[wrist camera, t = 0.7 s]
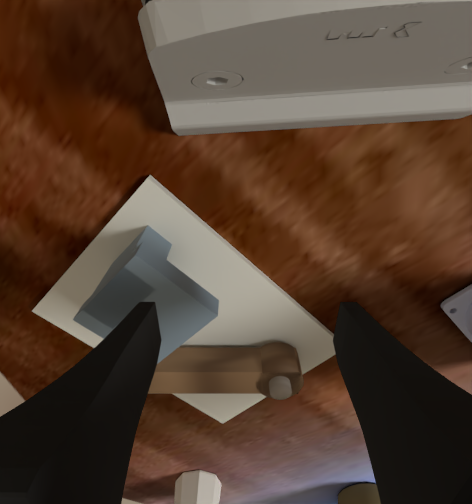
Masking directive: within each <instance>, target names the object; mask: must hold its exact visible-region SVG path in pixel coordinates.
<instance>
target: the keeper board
mask: <svg viewBox="0 0 472 504" xmlns="http://www.w3.org/2000/svg"><path fill="white" fill-rule="evenodd" d="M139 302H155V304H156V310H157V316H158V322H159V328H160V334H161V340H162V341H161V346H160V352H159V357H158V362H157V364H158V363H159V362H161V361H162V360H163V359H164V358H166V357H167V356H168V355H169V354H171V353H172V352H173V351H174V350H176V349H177V348H178V347H184V348H260V347H262V346H263V345H265V344H268V343H272V342H283V343H287V344H289V345H291V346H293V347H294V348H296V350H297V352H298V356H299V361H300V365H301V370H302V375H303V374H304V373H306V372H308V371H309V370H311V369H313V368H314V367H316V366H318V365H319V364H321V363H322V362H324V361H326V360H327V359H329V358H331V357H332V356H334V355H335V354H336V353H335V349H334V344H333V337H334V334H333V333H332V332H331V331H330V330H328V329H327V328H326V327H325V326H324V325H323V324H321V323H320V322H319V321H318V320H317V319H316V318H315V317H313V316H312V315H311V314H310V313H309V312H308V311H307V310H305V309H304V308H303V307H302V306H301V305H300V304H298V303H297V302H296V301H295V300H294V299H293V298H292V297H290V296H289V295H288V294H287V293H286V292H285V291H283V290H282V289H281V288H280V287H279V286H278V285H277V284H275V283H274V282H273V281H272V280H271V279H270V278H268V277H267V276H266V275H265V274H264V273H263V272H262V271H260V270H259V269H258V268H257V267H256V266H255V265H253V264H252V263H251V262H250V261H249V260H248V259H247V258H245V257H244V256H243V255H242V254H241V253H240V252H239V251H237V250H236V249H235V248H234V247H233V246H232V245H230V244H229V243H228V242H227V241H226V240H225V239H224V238H222V237H221V236H220V235H219V234H218V233H217V232H215V231H214V230H213V229H212V228H211V227H210V226H209V225H207V224H206V223H205V222H204V221H203V220H202V219H200V218H199V217H198V216H197V215H196V214H195V213H194V212H192V211H191V210H190V209H189V208H188V207H187V206H185V205H184V204H183V203H182V202H181V201H180V200H179V199H177V198H176V197H175V196H174V195H173V194H172V193H171V192H169V191H168V190H167V189H166V188H165V187H164V186H162V185H161V184H160V183H159V182H158V181H157V180H156V179H154V178H153V177H152V176H151V175H149V177H148V178H147V179H146V180H145V181H144V182H143V184H142V185H141V186H140V187H139V188H138V189H137V190H136V192H135V193H134V194H133V195H132V196H131V197H130V198H129V200H128V201H127V202H126V203H125V204H124V205H123V207H122V208H121V209H120V210H119V211H118V212H117V213H116V215H115V216H114V217H113V218H112V219H111V220H110V221H109V223H108V224H107V225H106V226H105V227H104V228H103V230H102V231H101V232H100V233H99V234H98V235H97V236H96V238H95V239H94V240H93V241H92V242H91V243H90V244H89V246H88V247H87V248H86V249H85V250H84V251H83V253H82V254H81V255H80V256H79V257H78V258H77V259H76V261H75V262H74V263H73V264H72V265H71V266H70V268H69V269H68V270H67V271H66V272H65V273H64V274H63V276H62V277H61V278H60V279H59V280H58V281H57V282H56V284H55V285H54V286H53V287H52V288H51V289H50V291H49V292H48V293H47V294H46V295H45V296H44V297H43V299H42V300H41V301H40V302H39V303H38V304H37V305H36V307H35V308H34V309H33V310H32V312H34V313H35V314H37V315H39V316H41V317H42V318H44V319H46V320H47V321H49V322H51V323H52V324H54V325H56V326H58V327H59V328H61V329H63V330H64V331H66V332H68V333H69V334H71V335H73V336H75V337H76V338H78V339H80V340H81V341H83V342H85V343H86V344H88V345H90V346H92V347H93V348H95V347H96V346H97V345H98V344H99V343H100V342H101V341H102V340H103V339H104V338H105V337H106V336H107V335H108V334H109V333H110V332H111V331H112V330H113V329H114V328H115V327H116V326H117V325H118V324H119V323H120V322H121V321H122V320H123V319H124V318H125V317H126V316H127V314H128V313H129V312H130V311H131V310H132V309H133V308H134V307H135V306H136V305H137V304H138V303H139ZM173 395H175V396H177V397H178V398H180V399H182V400H183V401H185V402H187V403H189V404H190V405H192V406H194V407H195V408H197V409H199V410H200V411H202V412H204V413H206V414H207V415H209V416H211V417H212V418H214V419H216V420H217V421H219V422H221V423H225V422H226V421H228V420H230V419H231V418H233V417H234V416H236V415H238V414H239V413H241V412H243V411H244V410H246V409H248V408H249V407H251V406H252V405H254V404H256V403H257V402H259V401H261V400H262V399H264V398H265V397H266V396H264V395H262V394H173Z"/></svg>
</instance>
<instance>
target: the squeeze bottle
mask: <svg viewBox="0 0 472 504" xmlns="http://www.w3.org/2000/svg"><path fill="white" fill-rule="evenodd" d="M338 504H381V502H380V497H379V493H378V489H377V485H376V484H370V483H367V484H357V485H353V486H349V487H347V488H345V489H343V490H342V491H341V492H340V493H339V494H338Z"/></svg>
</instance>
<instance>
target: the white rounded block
mask: <svg viewBox="0 0 472 504" xmlns="http://www.w3.org/2000/svg"><path fill="white" fill-rule="evenodd" d="M141 1H142V4H143V8H142V9H141V10H140V11H139V15H138V21H139V25H140V29H141V32H142V36H143V40H144V44H145V48H146V52H147V56H148V59H149V62H150V64H151V67H152V70H153V72H154V75H155V78H156V81H157V83H158V86H159V89H160V91H161V94H162V97H163V100H164V102H165V106H166V109H167V113H168V116H169V120H170V123H171V127H172V130H173V131H174V132H175V133H176V134H177V135H178V136H180V135H197V134H213V133H230V132H246V131H263V130H279V129H295V128H312V127H328V126H345V125H361V124H378V123H394V122H411V121H427V120H444V119H460V118H463V117H465V116H468V115H471V114H472V0H141Z"/></svg>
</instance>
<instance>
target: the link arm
mask: <svg viewBox="0 0 472 504" xmlns="http://www.w3.org/2000/svg"><path fill="white" fill-rule="evenodd" d="M303 384H304V380H303V375H302V370H301V365H300V361H299V356H298V352H297V350H296V348H294V347H293V346H291V345H289V344H287V343H283V342H272V343H268V344H265V345H263V346H262V347H260V348H184V347H178V348H177V349H176V350H174V351H173V352H172V353H171V354H169V355H168V356H167V357H166V358H164V359H163V360H162V361H161V362H159V363H158V364H157V366H156V369H155V373H154V376H153V379H152V382H151V385H150V388H149V391H148V394H262V395H264V396H266V397H269V398H274V399H278V400H282V399H286V398H288V397H290V396H293V395H295V394H298V392H299V391H300V390H301V388H302V387H303Z"/></svg>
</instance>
